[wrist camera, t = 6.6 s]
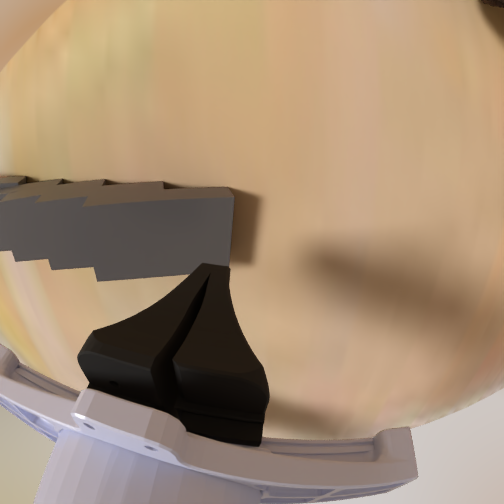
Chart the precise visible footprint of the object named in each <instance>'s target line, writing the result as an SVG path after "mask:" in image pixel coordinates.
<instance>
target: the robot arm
mask: <svg viewBox="0 0 504 504" xmlns="http://www.w3.org/2000/svg"><path fill="white" fill-rule="evenodd" d="M229 281H230V268H229V267H228V266H222V265H215V264H208V263H201V264H200V265H199V266H198V267H197V268H196V269H195V270H194V271H193V272H192V273H191V274H190V275H189V276H188V277H187V278H186V279H185V280H184V281H183V282H181V283H180V284H179V285H178V286H177V287H176V288H175V289H173V290H172V291H171V292H170V293H168V294H167V295H166V296H165V297H163V298H162V299H161V300H159V301H158V302H156V303H155V304H153V305H152V306H150V307H149V308H147V309H145V310H143V311H141V312H139V313H138V314H136V315H134V316H132V317H130V318H127V319H125V320H123V321H120V322H118V323H115V324H113V325H110V326H107V327H103V328H100V329H97V330H93V332H92V333H91V334H90V336H89V337H88V339H87V340H86V342H85V344H84V345H83V347H82V349H81V350H80V352H79V354H78V356H77V358H78V363H79V365H80V367H81V369H82V371H83V372H84V374H85V376H86V378H87V379H88V381H89V385H88V387H87V389H84V390H82V391H81V392H79V391H77V390H75V389H72V388H70V387H68V386H65V385H63V384H61V383H59V382H57V381H55V380H53V379H51V378H49V377H47V376H45V375H43V374H41V373H39V372H37V371H35V370H33V369H31V368H29V367H27V366H26V365H24V364H22V363H20V362H19V360H18V358H17V356H16V355H15V354H14V353H13V352H12V351H11V350H10V349H8V348H6V347H5V346H3V345H1V344H0V405H1V406H3V407H4V408H5V409H6V410H8V411H9V412H11V413H12V414H13V415H15V416H16V417H17V418H19V419H20V420H22V421H23V422H25V423H26V424H27V425H29V426H30V427H32V428H34V429H35V430H36V431H38V432H40V433H41V434H42V435H44V436H46V437H47V438H49V439H50V440H52V441H54V442H55V443H56V444H55V446H54V449H53V451H52V454H51V456H50V459H49V461H48V464H47V466H46V469H45V471H44V474H43V477H42V480H41V482H40V485H39V488H38V491H37V494H36V497H35V500H34V503H33V504H297V503H298V504H299V503H315V502H327V501H336V500H343V499H351V498H358V497H364V496H371V495H376V494H382V493H387V492H389V491H391V490H394V489H396V488H398V487H401V486H403V485H405V484H407V483H409V482H411V481H413V480H415V479H417V478H418V472H417V465H416V458H415V453H414V447H413V441H412V436H411V431H410V427H401V428H392V429H386V430H383V431H380V432H379V433H377V434H376V435H375V437H374V438H363V439H345V440H298V439H279V438H266V437H262V432H263V424H264V418H265V411H266V408H267V405H268V403H269V398H270V395H269V386H268V382H267V378H266V374H265V371H264V368H263V366H262V364H261V363H260V362H259V360H258V359H257V357H256V356H255V354H254V353H253V351H252V349H251V348H250V346H249V344H248V342H247V340H246V338H245V337H244V335H243V333H242V330H241V328H240V326H239V323H238V320H237V318H236V315H235V312H234V308H233V304H232V300H231V295H230V289H229Z"/></svg>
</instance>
